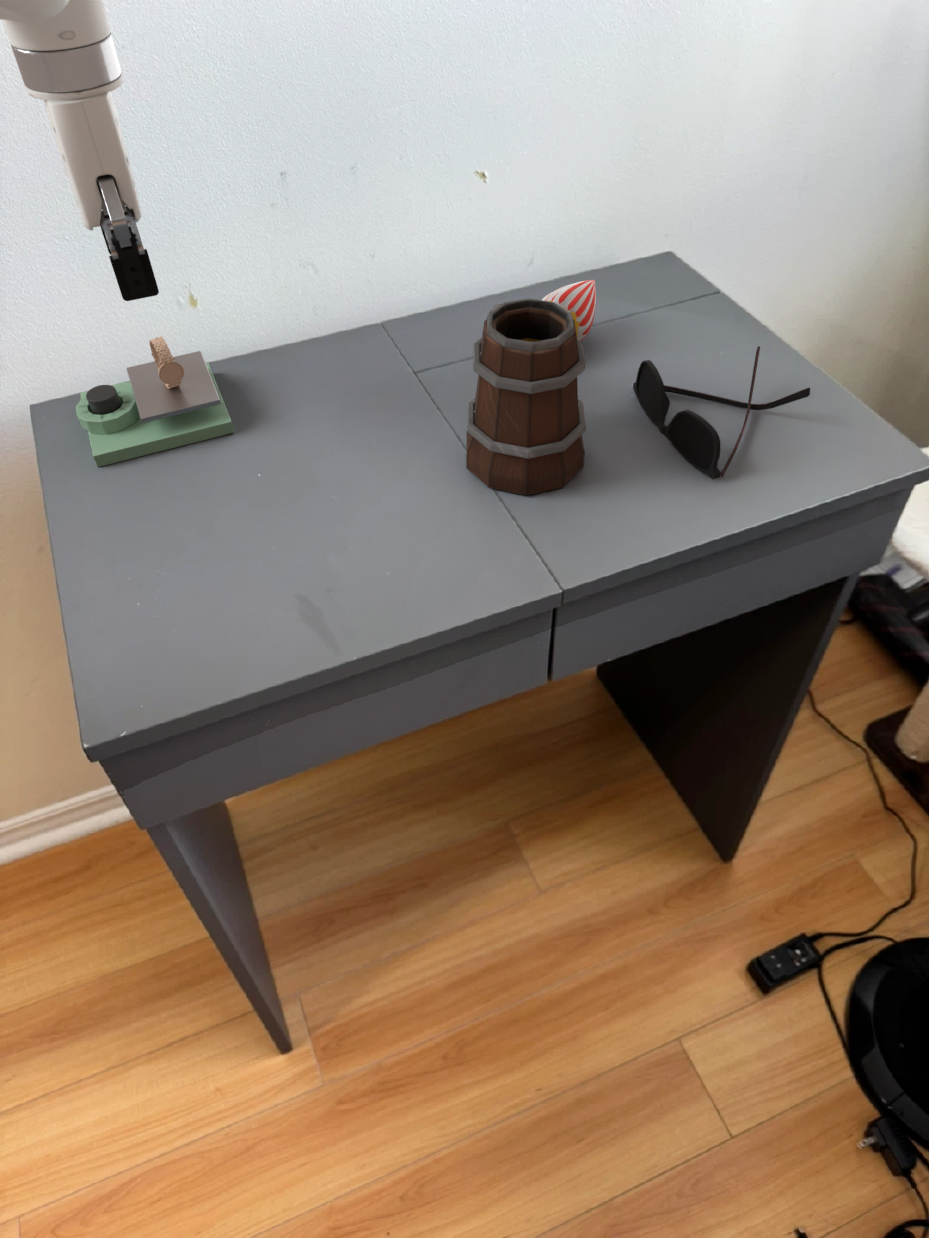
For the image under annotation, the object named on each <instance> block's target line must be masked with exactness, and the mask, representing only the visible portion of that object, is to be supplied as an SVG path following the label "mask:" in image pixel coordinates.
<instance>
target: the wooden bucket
mask: <svg viewBox="0 0 929 1238" xmlns="http://www.w3.org/2000/svg"><path fill="white" fill-rule="evenodd" d="M472 347H473V348H472V349H473V350H472V354H473V355H472V356H473V357H472V359H473V360H472V362H473V364H472V366H473V367H472V368H473V372H474V373H475V374H477V384H476V391H475V397H473V399H471V400H470V401H469V402H467V415H466V416H467V417H466V420H467V424H466V425H467V427H466V428H467V430H466V450H465V451H466V454H465V455H466V456H465V458H466V460H465V461H466V469H467V470H468V471H469V472H470V473H472V474H473V475H474V476H475V477H476V478H477V479H479V481H481V482H482V483H483V484H484V485H485V486H486V487H488V488H489V489H494V490H497V491H498V490H499V491H504V492H508V493H513V494H517V495H522V496H530V495H533V494H540V493H543V492H544V493H545V492H549V491H552V490H556V489H557V490H558V489H563V488H564V487H565V486H566V485H567V484H568V483H569V482H570V481H571V480H572V479H573V478H574V477H575V476H576V475H577V474H578V473H579V472H580V471H581V470H582V469H583V468H584V463H585V462H584V461H585V454H586V453H585V447H584V446H585V445H584V439H583V434H584V433H586V431H587V421H586V415H585V409H584V402H583V401H581V400H580V399H579V394H578V393H579V392H578V391H579V387H578V376H580V375H581V374H582V373H583V372H584V371H585V370H586V364H587V363H586V355H585V350H584V349H585V348H584V345H583V342H582V340H581V341H579V340H577V335H576V328H575V321H574V319H573V317H572V313H570V312H568V311H567V310H565V309H564V308H562V307H561V306H559V305H557V304H556V303H554V302H550V301H543V300H542V299H536V298H529V297H528V298H523V299H517V300H511V301H505V302H503V303H498V304H494V305H493V307H492V308H491V309H490V310H489V312H488V313H487V315H486V319H485V320H484V321H483V327H482V334H481V338H480V339H478V340H477V341H475V342H474V343H473V346H472Z"/></svg>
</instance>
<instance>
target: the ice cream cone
mask: <svg viewBox="0 0 929 1238" xmlns="http://www.w3.org/2000/svg"><path fill="white" fill-rule="evenodd" d="M541 300H543V301H550V302H554V303H556V304H557V305H559V306H561V307H562V308H564V309H565V310H567V311H568V312H570V313H572V317H573V319H574V321H575V328H576V335H577V340H579V341H581V342H582V341H583V340H584V339H585V338H586V337H587V335H588V333H589V332H590V331H591V328H592V326H593V323H594V319H595V314H596V305H597V304H596V303H597V290H596V280H595V279H589V280H582V281H581V280H580V281H577V282H574V283H571V284H567V285H563V286H561V287H559V288H557V289H555V290H554V291H552V292H550V293H548V294H547V295H545V296H544V297H543V298H542V299H541Z"/></svg>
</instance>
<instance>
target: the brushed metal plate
mask: <svg viewBox="0 0 929 1238" xmlns="http://www.w3.org/2000/svg"><path fill="white" fill-rule="evenodd" d="M173 358H175V359H174V360H172V361H174V362H177V363H179V364H180V365H181V366H182V367H183V368H185V370H184V376H183V378H182V380H181V381H182V383H181V384H180V385H179V386H176V387H173V388H170V389H168V388H167V387H166V385H165V383H163V382H162V381H161V380H160V378H159V371H158V368H157V366H156V363H155V360H154V361H150V362H146V363H142V364H138V365H133V366H127V367H126V372H127V376H128V379H129V381H130V383H131V386H132V390H133V393H134V397H135V401H136V404H137V408H138V411H139V415H140V418H141V421H142V423H146V422H150V421H154V420H158V419H163V418H167V417H171V416H175V415H179V414H183V413H187V412H191V411H195V410H199V409H203V408H207V407H211V406H215V405H220V404H221V402H220V399H219V396H218V394H217V391H216V388H215V386H214V383H213V381H212V378H211V376H210V373H209V371H208V368H207V365H206V363H207V362H206V360H205V358H204V356H203V352H202V351H201V350H197V351H193V352H189V353H185V354H181V355H176V356H173Z"/></svg>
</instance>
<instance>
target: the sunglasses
mask: <svg viewBox="0 0 929 1238" xmlns="http://www.w3.org/2000/svg"><path fill="white" fill-rule="evenodd" d="M760 350H761V346H759V345H758V346H757V348H756V351H755V356H754V363H753V368H752V375H751V381H750V388H749V395H748V399H747V400H748V401H747V402H744V401H739V400H735V399H731V398H727V397H722V396H719V395H714V394H709V393H705V392H700V391H696V390H691V389H687V388H682V387H678V386H677V387H675V386H671V385H667V384H664V381H663V378H662V376H661V375H660V372H659V370H658V368H657V367H656V366H655V364H654V363H653V361H651V360H650V359H646V360H645V359H644V360H643V361H641V362H640V364H639V367H638V369H637V374H636V379H635V382H633V383H632V389H633V391H634V394H635V397H636V398H637V401H638V403H639V405H640V407H641V409H642V410H643V412H644V413H645V415H646V416H647V417H648V419H649V420H650V421H651V422H652V423H653V425H655V426H656V428H657V429H658V431H659V432H660V434H662V436H664V437H665V438H666V439H667V440H668V441H669V443H670V445H671V446H672V447H673V448H674V449H675V450H676V451H677V452H678V453H679V454H680V455H681V456H682V457H683V458H684V459H685V461H687V462H688V463H689V464H691V465H692V466H693V467H694V468H696V469H697V470H699V471H700V472H701V473H703V474H704V475H706V476H707V477H709V478H711V479H713V480H716V479H719V478H721V477H722V478H723V477H724V476H725V474H726V472H727V470H728V468H729V467H730V464H731V462H732V460H733V458H734V456H735V454H736V451H737V449H738V447H739V445H740V443H741V440H742V437H743V434H744V432H745V429H746V426H747V422H748V419H749V416H750V413H751V411H750V410H752V411H766V410H770V409H774V408H777V407H780V406H784V405H786V404H787V405H788V404H790V403H793V402H796V401H799V400H802V399H805V398H808V397H810V395H811V387H806V388H804V389H801V390H799V391H796V392H793V393H791V394H788V395H786V396H784V397H781V398H778V399H776V400H772V401H769V402H765V403H752V399H753V394H754V393H753V392H754V387H755V381H756V375H757V369H758V363H759V356H760V352H761V351H760ZM667 393H669V394H676V395H681V396H686V397H690V398H695V399H699V400H700V399H701V400H704V401H710V402H713V403H719V404H723V405H728V406H732V407H737V408H740V409H746V412H745V417H744V421H743V425H742V427H741V431H740V433H739V436H738V438H737V440H736V442H735V445H734V447H733V449H732V451H731V453H730V455H729V457H728V459H727V461H726V463H725V465H724V466H723V469H719V468H718V464H719V460H720V456H721V448H722V447H721V446H722V445H721V438H720V436H719V433H718V432H717V430H716V429H715V427H714V426H712V424H710V422H708V420H707V419H705V418H704V417H702V416H701V415H699V414H697V413H696V412H694V411H692V410H689V409H684V410H681V411H678V412H676V414H675V415H674V416H673V417H672V418H671V420H670V421H669V423H668V424H667V425H666V424H665V423H666V419H667V415H668V413H669V409H670V405H671V400H670V398H669V396H668V395H667Z"/></svg>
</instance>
